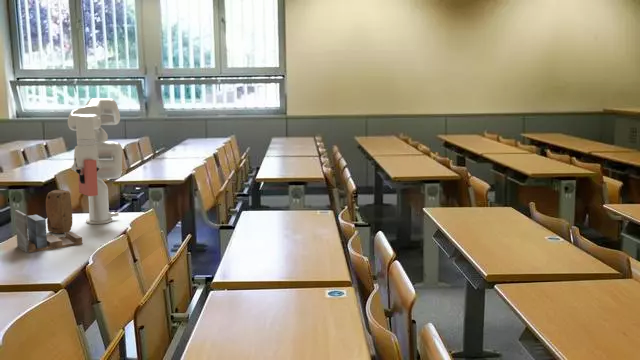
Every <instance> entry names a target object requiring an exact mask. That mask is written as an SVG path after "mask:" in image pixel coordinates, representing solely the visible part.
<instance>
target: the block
mask: <svg viewBox="0 0 640 360" xmlns="http://www.w3.org/2000/svg"><path fill="white" fill-rule="evenodd" d="M45 213H46V217H47V219H46V228H47V231H48V233H49V232H50V233H51V234H53V233H54V234H59V235H60V234H65V232H71V230H72V226H73V206H72V197H71V192H70V190H63V189H55V190H51V191H50V192H48V193H47V195H46V198H45Z"/></svg>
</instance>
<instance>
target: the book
mask: <svg viewBox="0 0 640 360" xmlns="http://www.w3.org/2000/svg"><path fill="white" fill-rule="evenodd" d="M77 169H78V170H79V168H78V167H77ZM77 174H78V173H77ZM83 175H84V180H85V183H84V184H82V183H81V182H80V177H79V174H78V176H77V177H78V178H77V179H78V193H79V194H82V195H85V196H87V197H88V196H96V195H98V187H97V165H96V160H84V171H83Z"/></svg>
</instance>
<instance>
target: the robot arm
mask: <svg viewBox="0 0 640 360" xmlns="http://www.w3.org/2000/svg"><path fill="white" fill-rule="evenodd" d="M119 110H120V109H119V107H118V104H117V102H116V100H115V99H114V98H110V97H109V98H107V97H106V98H103V97H101V98H98V97H95V98H90V99H89V100H88V101H87V102H86V104H85V106H82V107H80V108H76V109H73V110H72V111H70V113H69V115H68V118H67V126H68V128H69V130H71V131H76V132H75V133H76V146H74V153H73V164H72V165H71V167H70V169H71V170H72V171H74V172H76V173H77V174H79V177H80V182H81V183H82V184H84V183H85V180H84V175H83V171H84V160H96V165H97V187H98V195H96V196H87V198H88V213H89V218H87V219H86V221H85V222H86V224H91V225H102V224H103V225H104V224H108V223H111V222H113V217H119V212H110V209H109V208H110V206H109V188H108V184H106V183H105V181H104V180H115V179H119V178H121V176H122V174H123V173H122V172H123V148H122V147H123V146H122V145H121V143H120V142H117V141H109V140H108V139H109V136H108V133H107V132H106V131H105V129H103V127H101V126H117V125H118V124H119V123H120V121H121V113H120V111H119ZM78 168H79V170H78Z"/></svg>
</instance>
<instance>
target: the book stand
mask: <svg viewBox="0 0 640 360" xmlns="http://www.w3.org/2000/svg"><path fill="white" fill-rule="evenodd" d="M14 216H15V230H16V244H17V246H16V247H18V248H19V249H20V250H22V251H23V252H24V253H26V254H27V253H35V252H36V253H37V252H43V251H48V250H53V249H54V250H55V249H61V248H67V247H72V246H80V245H83V237H82V236H80V235H78V234H76V233H75V232H73V231H70V232H65V233H64V234H65V236H62V237H60V236H59V237H57V236H56V235H53V233H51V234H47V219H46V218H44V217H42V216H40V215H38V214H33V215H32V214H31V215H30V214H29V215H27V214H25V213H24V212H22V211H20V210H19V209H15V210H14Z"/></svg>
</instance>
